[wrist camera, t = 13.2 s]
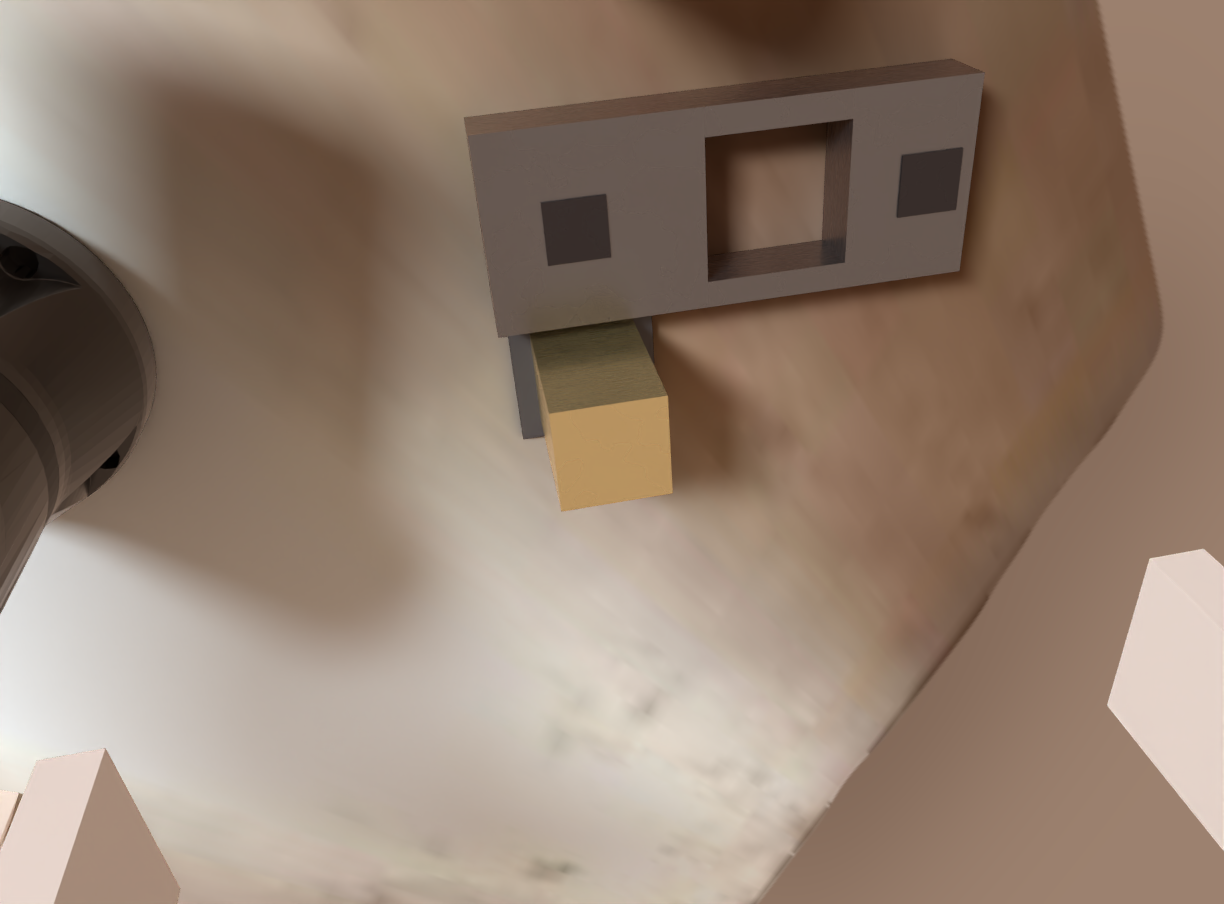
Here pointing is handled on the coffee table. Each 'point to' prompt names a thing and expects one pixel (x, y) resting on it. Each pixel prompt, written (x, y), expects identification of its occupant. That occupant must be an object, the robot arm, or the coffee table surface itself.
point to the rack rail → (676, 194)
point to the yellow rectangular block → (602, 414)
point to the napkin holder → (6, 810)
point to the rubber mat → (527, 382)
